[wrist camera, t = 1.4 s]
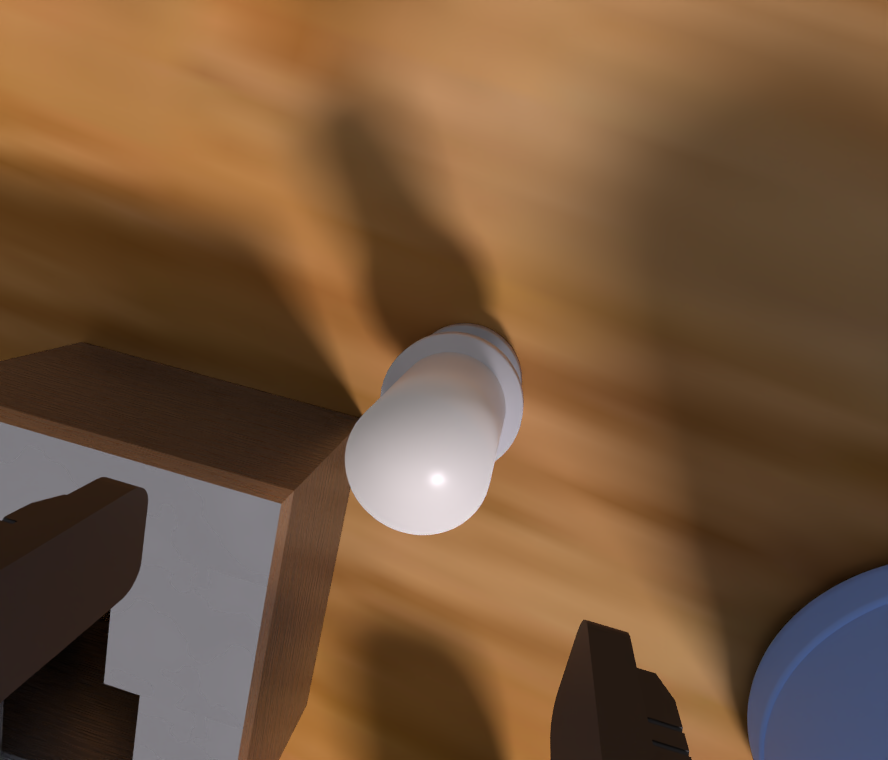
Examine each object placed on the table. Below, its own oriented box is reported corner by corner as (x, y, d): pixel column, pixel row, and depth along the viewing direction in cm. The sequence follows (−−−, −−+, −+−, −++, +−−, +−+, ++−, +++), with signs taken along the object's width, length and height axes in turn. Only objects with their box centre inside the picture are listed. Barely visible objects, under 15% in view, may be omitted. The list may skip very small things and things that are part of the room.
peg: (420, 305, 26) (341, 350, 16) (540, 335, 26) (536, 401, 16) (395, 418, 28) (309, 525, 18) (509, 449, 27) (487, 577, 17)
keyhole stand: (81, 341, 29) (-114, 388, 21) (364, 419, 28) (281, 504, 19) (61, 626, 33) (-108, 763, 25) (306, 705, 32) (217, 881, 23)
